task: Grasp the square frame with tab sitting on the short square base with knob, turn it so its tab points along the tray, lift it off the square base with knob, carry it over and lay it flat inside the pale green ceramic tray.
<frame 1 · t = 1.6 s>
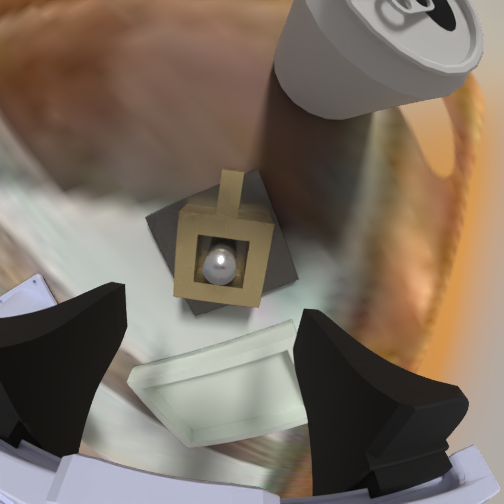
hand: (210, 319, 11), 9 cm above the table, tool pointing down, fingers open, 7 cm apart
can: (326, 71, 16), on the table
tray: (231, 389, 24), on the table
square frame with tab: (223, 249, 19), point 1 cm above the table, touching square base with knob
square base with knob: (223, 245, 20), on the table
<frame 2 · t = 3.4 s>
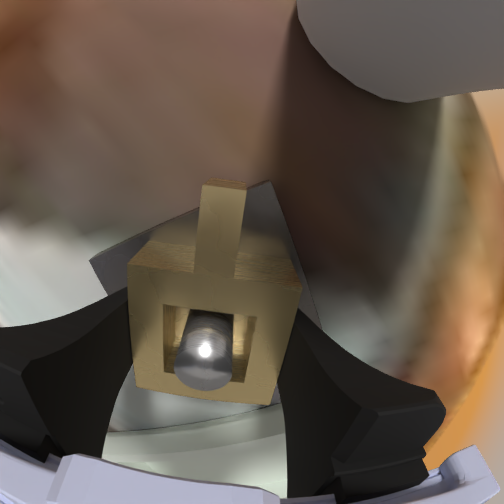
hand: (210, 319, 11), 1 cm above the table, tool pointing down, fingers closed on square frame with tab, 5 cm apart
can: (374, 29, 9), on the table
tray: (229, 461, 17), on the table
square frame with tab: (212, 312, 12), point 1 cm above the table, touching gripper, square base with knob
square base with knob: (213, 302, 12), on the table
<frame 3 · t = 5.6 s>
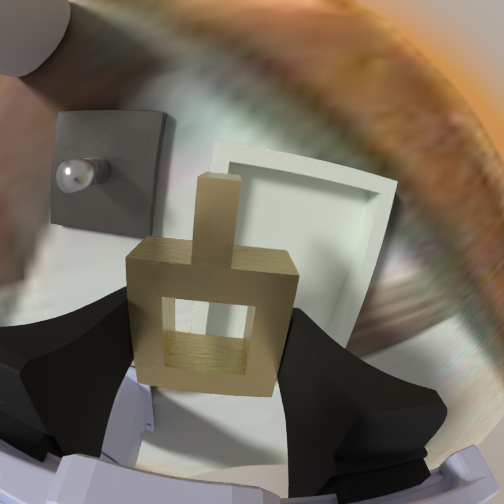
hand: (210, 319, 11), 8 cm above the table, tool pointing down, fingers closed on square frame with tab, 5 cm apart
can: (40, 37, 13), on the table
tray: (282, 269, 20), on the table
square frame with tab: (211, 305, 12), point 8 cm above the table, touching gripper
square base with knob: (102, 169, 17), on the table
when the fingers open (2 cm above the table, at t = 8.0 s): square frame with tab stays where it is, resting on tray.
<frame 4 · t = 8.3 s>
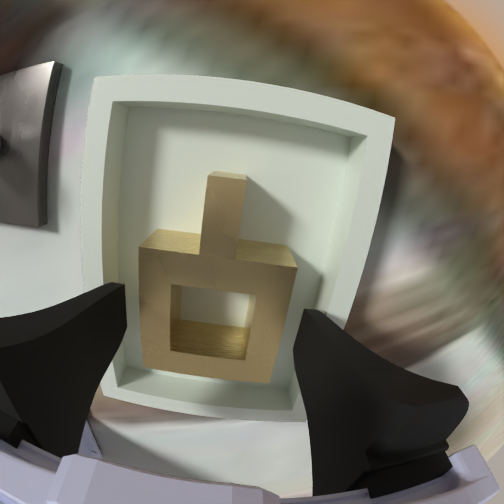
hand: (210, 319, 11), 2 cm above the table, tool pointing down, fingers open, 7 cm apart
tray: (218, 268, 13), on the table
square frame with tab: (215, 295, 13), resting on tray
square base with knob: (0, 146, 10), on the table
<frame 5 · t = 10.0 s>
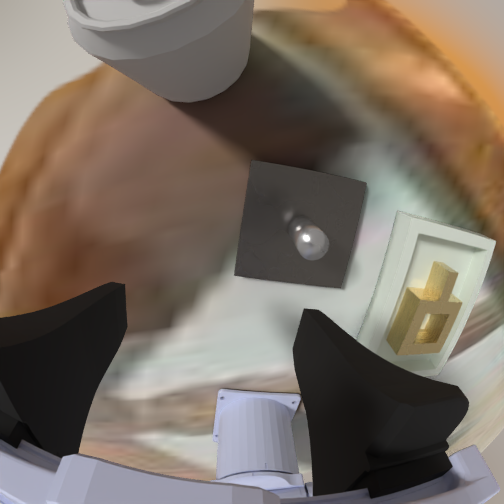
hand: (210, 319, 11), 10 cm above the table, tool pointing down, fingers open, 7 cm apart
can: (194, 56, 16), on the table
tray: (420, 302, 23), on the table
square frame with tab: (418, 315, 23), resting on tray
square base with knob: (299, 226, 20), on the table
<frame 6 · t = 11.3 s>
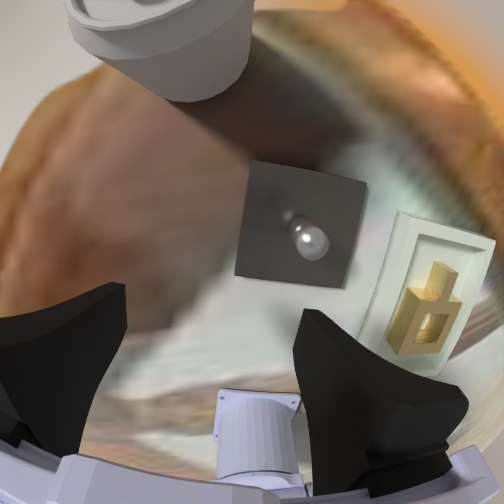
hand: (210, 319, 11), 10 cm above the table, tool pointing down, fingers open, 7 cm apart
can: (194, 56, 16), on the table
tray: (420, 302, 23), on the table
square frame with tab: (418, 315, 23), resting on tray
square base with knob: (299, 226, 20), on the table
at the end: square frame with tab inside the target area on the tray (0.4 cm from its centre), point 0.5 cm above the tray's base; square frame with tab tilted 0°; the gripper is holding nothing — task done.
